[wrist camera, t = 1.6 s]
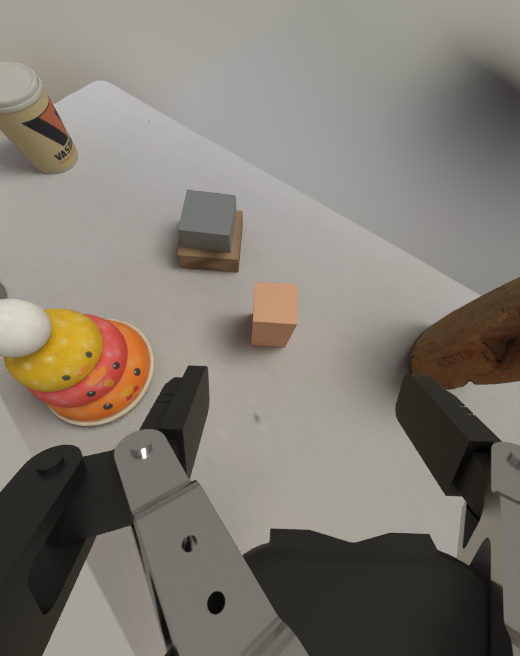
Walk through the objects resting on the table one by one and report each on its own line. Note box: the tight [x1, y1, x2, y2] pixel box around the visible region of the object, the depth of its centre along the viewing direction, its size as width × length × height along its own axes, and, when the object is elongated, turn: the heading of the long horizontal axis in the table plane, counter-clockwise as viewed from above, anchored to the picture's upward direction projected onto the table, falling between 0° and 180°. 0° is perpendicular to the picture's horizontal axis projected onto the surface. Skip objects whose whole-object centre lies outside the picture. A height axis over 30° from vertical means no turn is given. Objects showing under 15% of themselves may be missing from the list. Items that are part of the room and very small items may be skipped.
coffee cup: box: [0, 62, 78, 174], centre depth 45 cm, size 9×9×12 cm
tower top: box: [178, 190, 236, 253], centre depth 41 cm, size 7×7×4 cm
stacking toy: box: [0, 299, 154, 426], centre depth 29 cm, size 14×14×20 cm
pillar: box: [251, 282, 297, 347], centre depth 37 cm, size 5×5×10 cm
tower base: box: [177, 211, 243, 272], centre depth 45 cm, size 9×9×4 cm
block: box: [409, 277, 520, 390], centre depth 32 cm, size 11×8×20 cm
